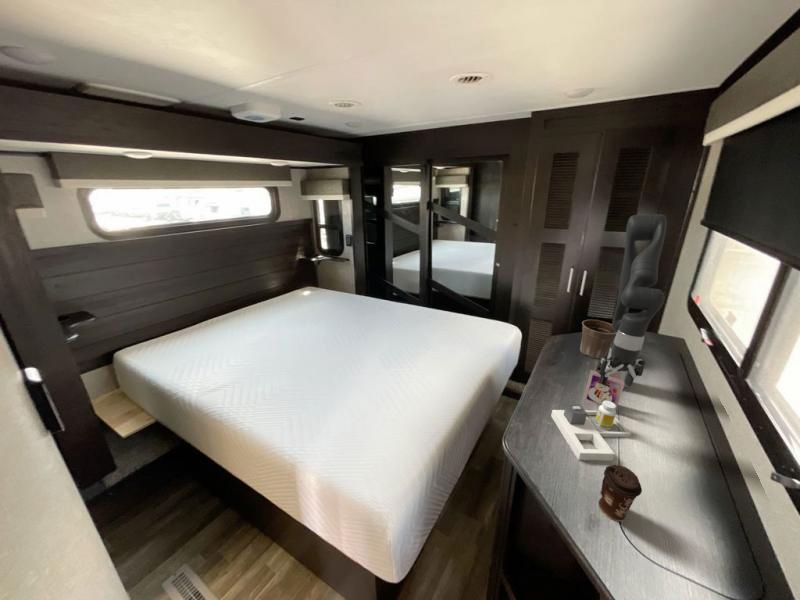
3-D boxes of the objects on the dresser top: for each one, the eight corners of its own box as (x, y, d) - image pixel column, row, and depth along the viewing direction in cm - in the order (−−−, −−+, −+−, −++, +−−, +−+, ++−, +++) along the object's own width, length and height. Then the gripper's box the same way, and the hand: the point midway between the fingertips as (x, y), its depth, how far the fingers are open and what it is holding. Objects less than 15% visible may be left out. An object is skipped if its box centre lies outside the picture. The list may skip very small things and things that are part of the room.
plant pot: (618, 361, 154) (626, 333, 148) (586, 361, 154) (593, 333, 148) (598, 345, 169) (606, 319, 163) (569, 345, 169) (576, 319, 163)
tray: (608, 413, 119) (609, 410, 118) (628, 437, 108) (630, 433, 107) (578, 413, 119) (579, 410, 118) (596, 436, 108) (597, 433, 108)
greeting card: (581, 401, 126) (590, 370, 120) (586, 392, 131) (594, 363, 125) (614, 414, 118) (624, 382, 113) (617, 405, 124) (628, 374, 118)
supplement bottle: (591, 422, 115) (597, 401, 111) (600, 417, 117) (606, 397, 113) (605, 431, 110) (612, 410, 107) (614, 427, 112) (621, 406, 109)
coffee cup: (586, 495, 88) (597, 462, 83) (613, 493, 88) (625, 460, 84) (608, 526, 80) (621, 492, 75) (637, 524, 80) (652, 489, 76)
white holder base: (579, 416, 117) (584, 398, 114) (612, 460, 99) (619, 440, 96) (551, 416, 117) (555, 398, 114) (578, 459, 99) (584, 439, 96)
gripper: (641, 339, 105) (628, 378, 110) (599, 338, 105) (588, 377, 111) (657, 350, 98) (642, 391, 103) (613, 349, 98) (600, 390, 104)
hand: (614, 384), depth 107 cm, fingers open, 8 cm apart
